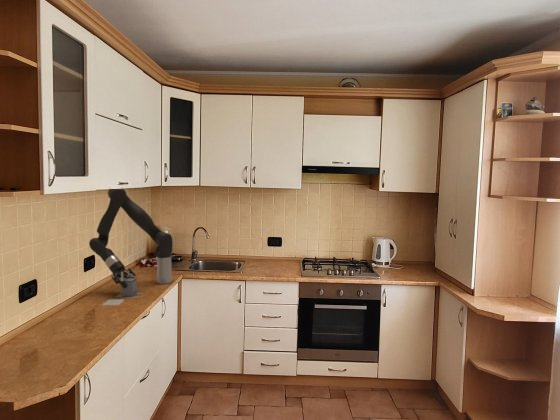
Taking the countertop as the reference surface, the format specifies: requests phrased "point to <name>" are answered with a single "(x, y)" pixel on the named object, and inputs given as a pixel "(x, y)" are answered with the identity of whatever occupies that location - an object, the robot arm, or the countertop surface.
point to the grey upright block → (130, 287)
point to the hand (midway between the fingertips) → (131, 285)
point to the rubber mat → (113, 302)
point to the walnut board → (129, 296)
